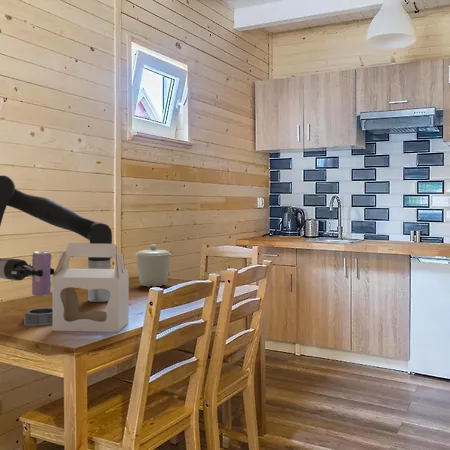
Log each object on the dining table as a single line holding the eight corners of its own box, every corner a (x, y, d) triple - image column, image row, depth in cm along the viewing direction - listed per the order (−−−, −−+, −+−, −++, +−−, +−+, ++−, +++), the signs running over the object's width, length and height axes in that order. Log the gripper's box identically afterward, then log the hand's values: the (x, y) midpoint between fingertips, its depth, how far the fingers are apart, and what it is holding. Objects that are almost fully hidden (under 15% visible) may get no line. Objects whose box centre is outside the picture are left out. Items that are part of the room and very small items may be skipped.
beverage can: (53, 294, 184) (54, 251, 183) (43, 297, 178) (43, 253, 178) (39, 293, 186) (39, 251, 185) (28, 295, 180) (28, 252, 180)
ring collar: (59, 316, 190) (59, 306, 190) (61, 323, 179) (61, 313, 179) (24, 319, 186) (24, 308, 186) (24, 326, 175) (24, 315, 175)
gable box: (129, 323, 181) (129, 242, 180) (119, 332, 168) (119, 245, 167) (66, 321, 182) (66, 241, 181) (51, 331, 169) (51, 244, 168)
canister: (128, 285, 265) (128, 244, 264) (157, 282, 277) (157, 242, 276) (148, 290, 251) (148, 246, 250) (178, 286, 264) (178, 244, 263)
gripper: (-5, 260, 181) (32, 263, 174) (26, 257, 194) (62, 259, 187) (-5, 282, 181) (32, 286, 175) (26, 277, 195) (62, 280, 188)
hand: (47, 272), depth 181 cm, fingers closed on beverage can, 5 cm apart
